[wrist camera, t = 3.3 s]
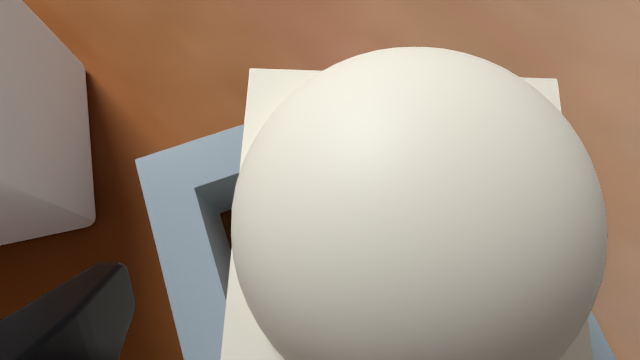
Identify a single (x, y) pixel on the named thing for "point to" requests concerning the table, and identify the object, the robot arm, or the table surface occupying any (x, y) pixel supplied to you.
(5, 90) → the medicine bottle
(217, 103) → the table surface
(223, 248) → the blue square ring
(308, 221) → the cream egg block
